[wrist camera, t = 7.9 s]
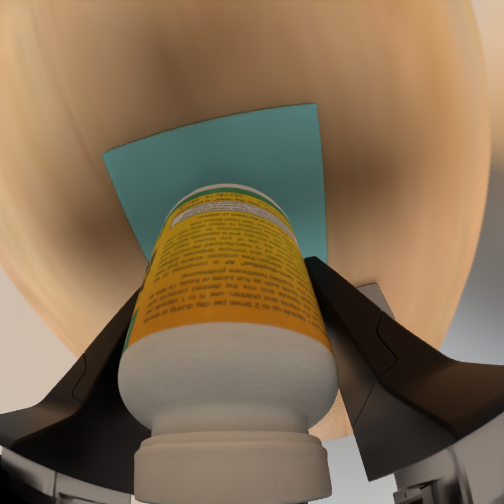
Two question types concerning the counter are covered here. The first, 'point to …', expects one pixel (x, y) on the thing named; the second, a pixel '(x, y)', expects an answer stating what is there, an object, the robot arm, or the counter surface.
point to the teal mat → (227, 170)
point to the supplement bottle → (228, 358)
